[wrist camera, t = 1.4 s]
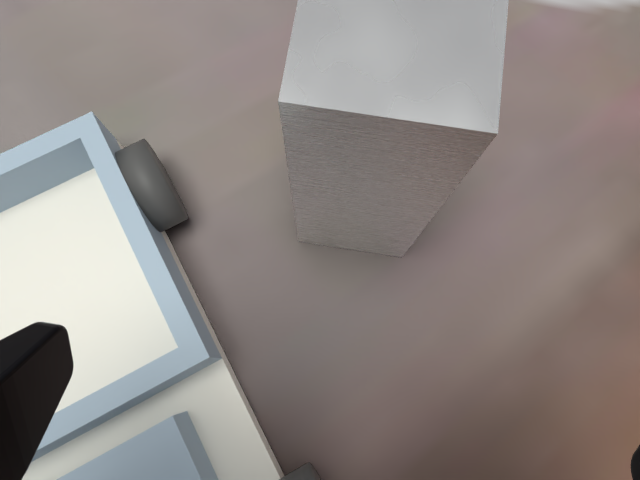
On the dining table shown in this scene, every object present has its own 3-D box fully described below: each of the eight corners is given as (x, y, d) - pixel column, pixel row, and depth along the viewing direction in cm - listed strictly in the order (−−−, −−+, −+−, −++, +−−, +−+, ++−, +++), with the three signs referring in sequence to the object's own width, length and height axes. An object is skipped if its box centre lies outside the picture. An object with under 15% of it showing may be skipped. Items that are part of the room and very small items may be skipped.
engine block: (401, 257, 22) (497, 134, 10) (298, 241, 22) (278, 101, 10) (413, 160, 23) (512, -50, 11) (314, 146, 23) (313, -77, 12)
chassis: (370, 576, 19) (382, 623, 16) (28, 790, 17) (-45, 895, 14) (150, 138, 23) (120, 98, 20) (-143, 278, 22) (-231, 260, 18)
